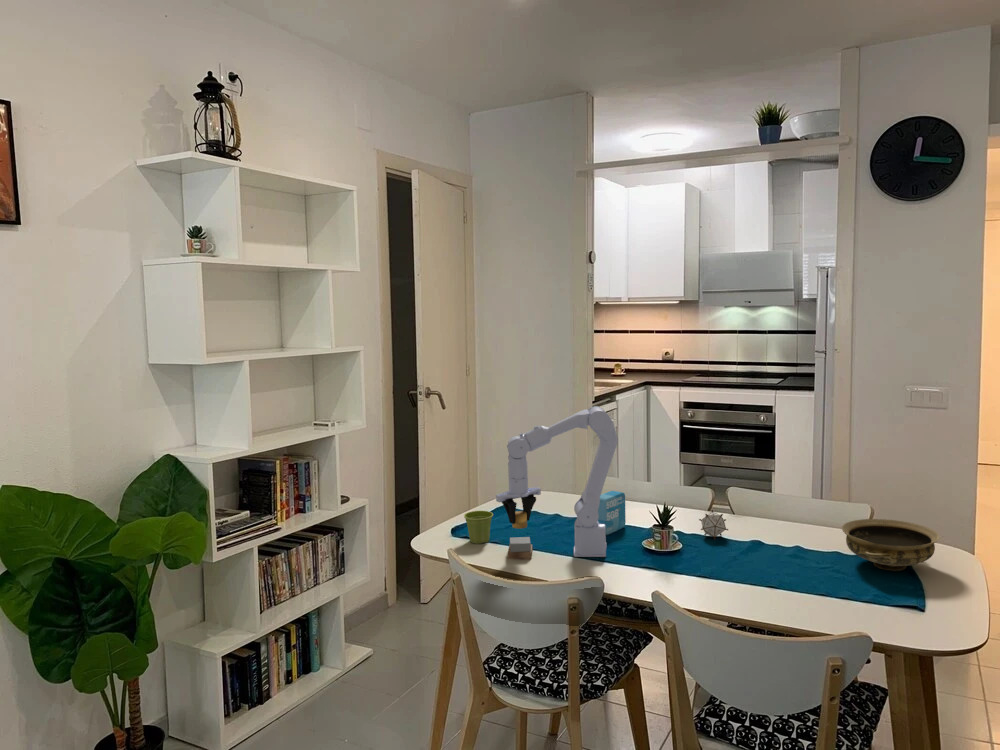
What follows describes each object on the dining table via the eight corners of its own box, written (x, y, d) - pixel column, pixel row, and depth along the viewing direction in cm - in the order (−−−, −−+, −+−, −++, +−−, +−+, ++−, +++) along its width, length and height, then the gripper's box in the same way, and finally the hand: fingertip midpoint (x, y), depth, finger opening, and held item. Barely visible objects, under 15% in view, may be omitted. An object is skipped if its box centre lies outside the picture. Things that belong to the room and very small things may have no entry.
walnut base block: (532, 552, 231) (532, 544, 231) (531, 560, 224) (531, 552, 224) (509, 552, 232) (509, 544, 231) (507, 560, 225) (507, 552, 224)
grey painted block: (529, 544, 230) (529, 536, 230) (530, 551, 224) (530, 543, 224) (510, 545, 230) (509, 537, 230) (510, 552, 224) (510, 544, 224)
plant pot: (461, 545, 238) (460, 518, 237) (469, 535, 248) (468, 509, 247) (489, 546, 236) (489, 519, 235) (497, 536, 245) (496, 510, 244)
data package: (605, 536, 243) (604, 499, 241) (593, 533, 246) (593, 497, 244) (625, 526, 252) (625, 491, 250) (614, 524, 255) (613, 489, 253)
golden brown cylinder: (528, 524, 228) (528, 511, 228) (525, 528, 224) (524, 515, 223) (514, 523, 229) (514, 510, 229) (510, 528, 225) (510, 515, 225)
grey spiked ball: (720, 548, 239) (739, 527, 234) (699, 543, 235) (717, 521, 231) (709, 527, 246) (727, 506, 241) (688, 522, 243) (706, 500, 238)
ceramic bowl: (860, 542, 229) (861, 510, 228) (950, 559, 213) (951, 525, 212) (824, 571, 207) (825, 536, 206) (922, 593, 191) (923, 554, 190)
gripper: (504, 483, 218) (505, 529, 219) (545, 476, 225) (547, 520, 227) (491, 478, 224) (493, 523, 226) (533, 471, 231) (534, 514, 233)
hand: (519, 521), depth 227 cm, fingers closed on golden brown cylinder, 4 cm apart
